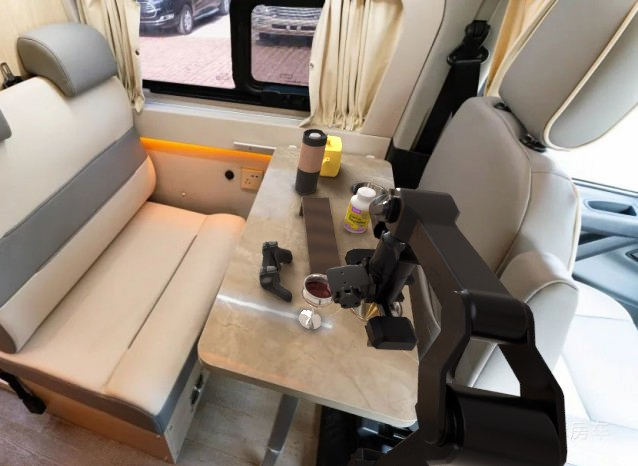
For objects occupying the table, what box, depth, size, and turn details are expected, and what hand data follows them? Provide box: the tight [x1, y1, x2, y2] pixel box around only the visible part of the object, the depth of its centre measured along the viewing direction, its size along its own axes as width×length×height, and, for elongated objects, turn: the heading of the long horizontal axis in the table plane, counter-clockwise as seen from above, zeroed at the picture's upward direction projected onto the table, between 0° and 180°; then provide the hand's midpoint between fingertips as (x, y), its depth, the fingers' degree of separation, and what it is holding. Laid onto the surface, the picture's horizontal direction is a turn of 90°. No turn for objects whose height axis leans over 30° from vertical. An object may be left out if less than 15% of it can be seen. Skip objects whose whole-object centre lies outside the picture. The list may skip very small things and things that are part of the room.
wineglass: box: [298, 274, 334, 330], centre depth 71 cm, size 7×7×12 cm
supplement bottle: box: [343, 186, 377, 234], centre depth 94 cm, size 7×7×13 cm
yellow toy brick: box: [319, 135, 343, 178], centre depth 120 cm, size 20×12×12 cm, turn 167°
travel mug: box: [294, 128, 329, 195], centre depth 107 cm, size 8×8×20 cm
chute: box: [298, 196, 342, 276], centre depth 91 cm, size 25×8×7 cm, turn 177°
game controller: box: [258, 240, 294, 303], centre depth 82 cm, size 16×7×10 cm, turn 171°
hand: (362, 322), depth 59 cm, fingers open, 9 cm apart
